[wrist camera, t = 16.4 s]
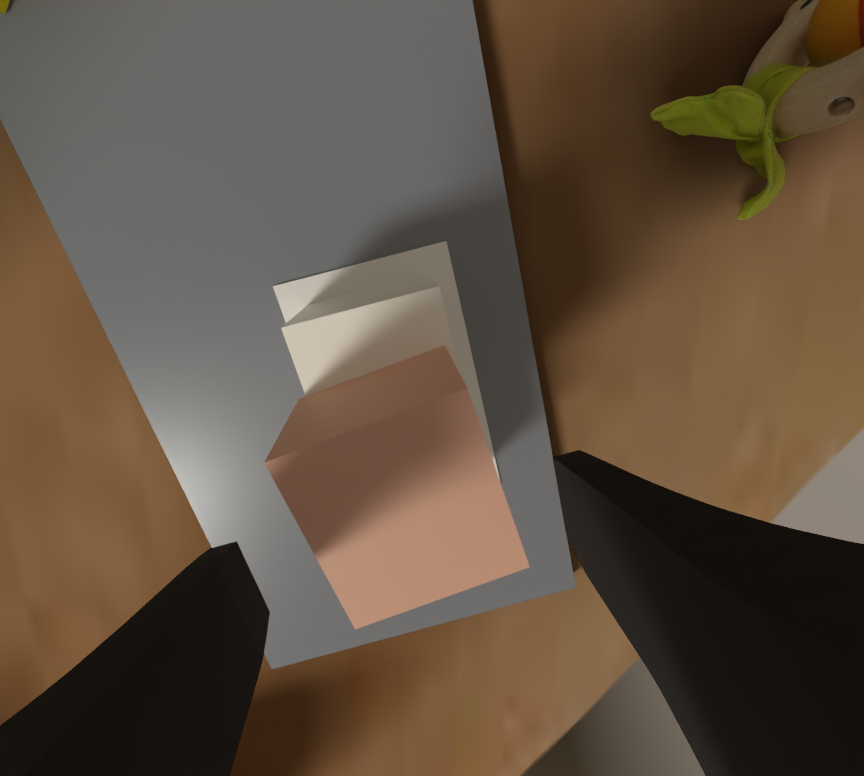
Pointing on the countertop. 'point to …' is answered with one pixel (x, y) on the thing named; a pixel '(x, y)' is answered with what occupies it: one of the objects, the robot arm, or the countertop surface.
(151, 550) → the countertop surface
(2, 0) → the building blocks toy
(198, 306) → the baseplate
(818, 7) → the bird rattle
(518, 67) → the countertop surface
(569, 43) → the countertop surface
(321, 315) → the cream brick
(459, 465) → the terracotta brick
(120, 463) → the countertop surface
